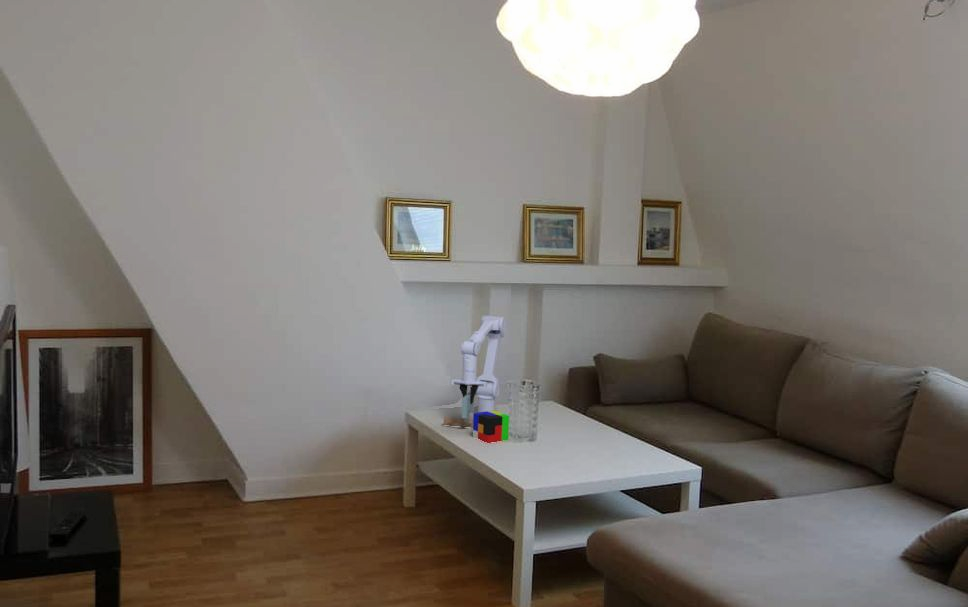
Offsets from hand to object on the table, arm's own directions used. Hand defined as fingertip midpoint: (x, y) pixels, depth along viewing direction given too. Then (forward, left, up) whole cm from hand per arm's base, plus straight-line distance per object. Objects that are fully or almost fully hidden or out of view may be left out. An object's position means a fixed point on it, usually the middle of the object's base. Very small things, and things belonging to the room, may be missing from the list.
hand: (468, 403), depth 375 cm
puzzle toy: (+14, +12, -11) cm, 21 cm away
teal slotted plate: (0, 0, -5) cm, 5 cm away
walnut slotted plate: (0, 0, -10) cm, 10 cm away
